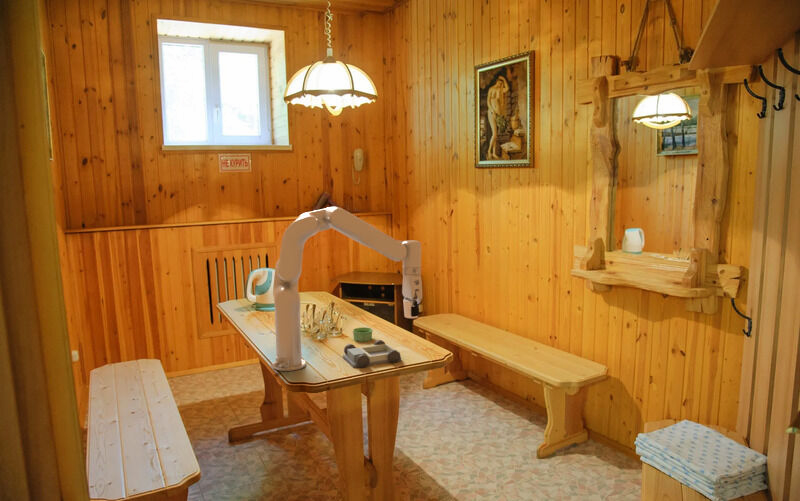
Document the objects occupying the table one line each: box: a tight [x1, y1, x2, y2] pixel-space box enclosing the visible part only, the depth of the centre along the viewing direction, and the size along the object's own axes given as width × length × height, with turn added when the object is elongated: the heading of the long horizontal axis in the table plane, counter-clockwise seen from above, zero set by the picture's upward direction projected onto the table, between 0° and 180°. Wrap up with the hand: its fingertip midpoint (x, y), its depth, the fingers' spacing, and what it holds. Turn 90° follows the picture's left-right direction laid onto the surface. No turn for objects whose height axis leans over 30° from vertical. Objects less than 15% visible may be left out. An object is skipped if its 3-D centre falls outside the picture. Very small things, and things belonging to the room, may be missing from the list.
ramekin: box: [352, 326, 373, 343], centre depth 250 cm, size 9×9×4 cm
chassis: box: [342, 339, 402, 369], centre depth 222 cm, size 20×17×5 cm
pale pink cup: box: [402, 298, 419, 319], centre depth 226 cm, size 7×7×7 cm
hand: (411, 313), depth 227 cm, fingers closed on pale pink cup, 6 cm apart
